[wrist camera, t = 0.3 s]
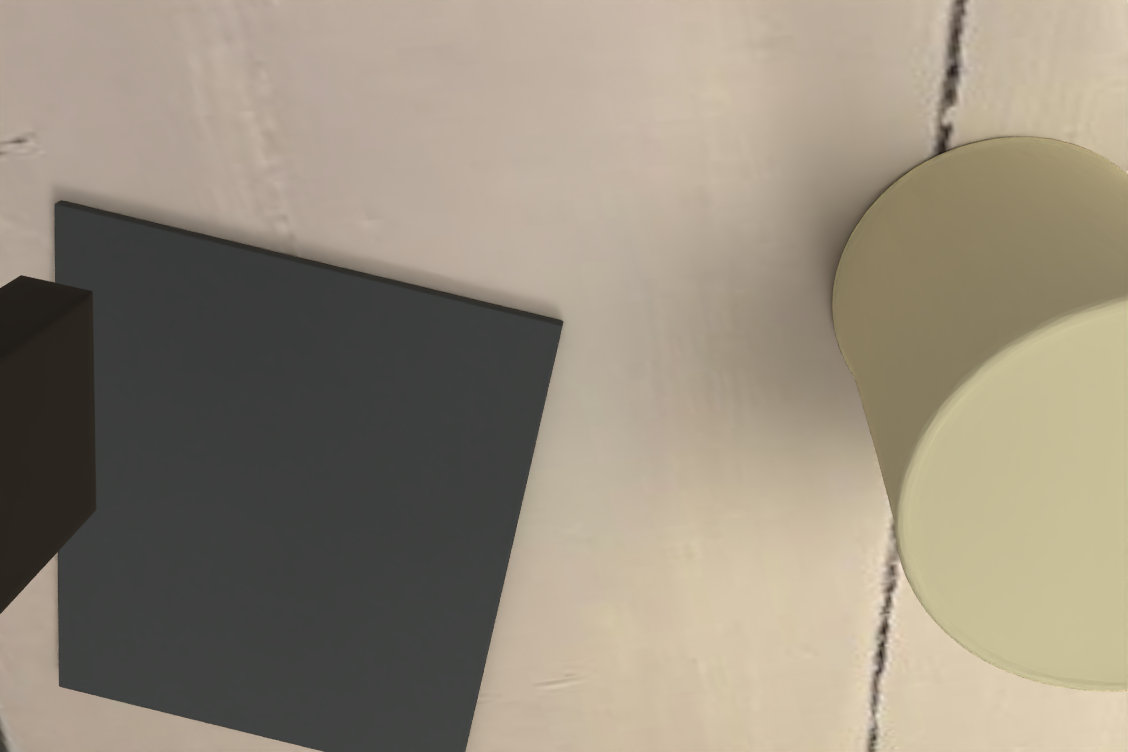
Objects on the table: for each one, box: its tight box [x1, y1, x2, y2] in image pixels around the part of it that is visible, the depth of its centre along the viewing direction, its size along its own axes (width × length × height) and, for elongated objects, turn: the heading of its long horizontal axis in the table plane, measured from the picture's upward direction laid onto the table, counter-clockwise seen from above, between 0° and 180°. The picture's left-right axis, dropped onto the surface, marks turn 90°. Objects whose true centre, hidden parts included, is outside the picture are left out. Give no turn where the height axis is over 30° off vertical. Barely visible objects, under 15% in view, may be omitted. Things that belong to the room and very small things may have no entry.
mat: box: [55, 201, 563, 752], centre depth 37 cm, size 20×16×1 cm
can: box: [832, 137, 1128, 691], centre depth 26 cm, size 9×9×12 cm
